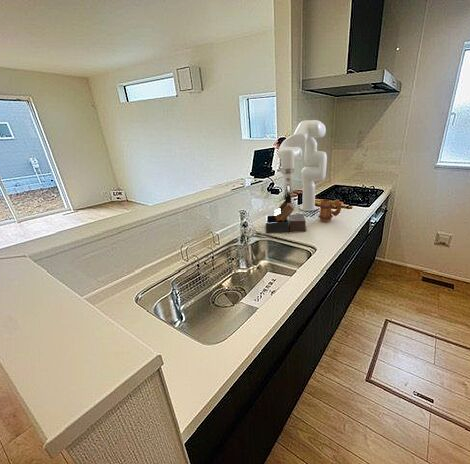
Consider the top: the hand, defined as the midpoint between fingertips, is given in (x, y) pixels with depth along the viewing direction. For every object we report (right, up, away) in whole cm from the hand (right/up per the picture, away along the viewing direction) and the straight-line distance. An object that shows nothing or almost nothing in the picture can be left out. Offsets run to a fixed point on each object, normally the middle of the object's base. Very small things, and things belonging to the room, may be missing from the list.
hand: (287, 201), depth 151 cm
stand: (+6, -16, +7) cm, 19 cm away
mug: (+28, -12, +17) cm, 35 cm away
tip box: (+1, -5, +2) cm, 6 cm away
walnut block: (-4, -6, +6) cm, 9 cm away
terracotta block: (-4, -8, 0) cm, 9 cm away
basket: (-6, -17, +7) cm, 19 cm away
